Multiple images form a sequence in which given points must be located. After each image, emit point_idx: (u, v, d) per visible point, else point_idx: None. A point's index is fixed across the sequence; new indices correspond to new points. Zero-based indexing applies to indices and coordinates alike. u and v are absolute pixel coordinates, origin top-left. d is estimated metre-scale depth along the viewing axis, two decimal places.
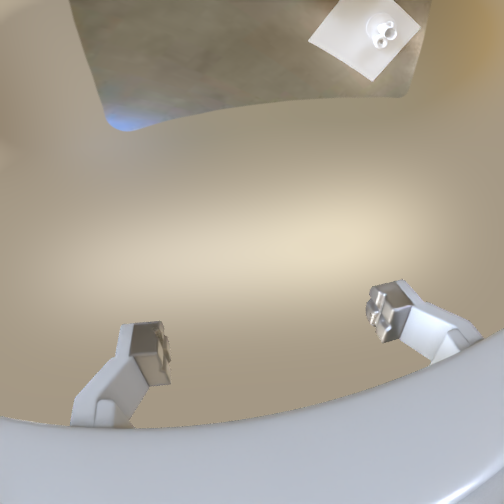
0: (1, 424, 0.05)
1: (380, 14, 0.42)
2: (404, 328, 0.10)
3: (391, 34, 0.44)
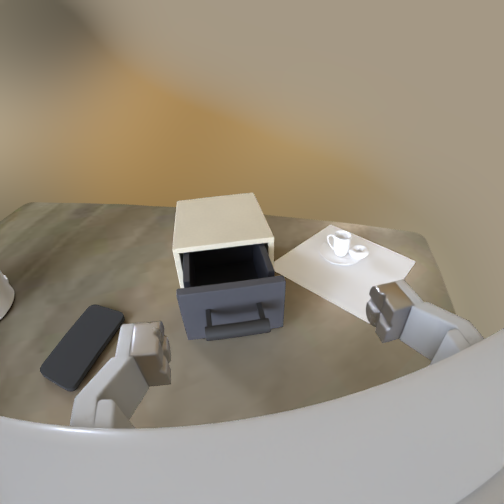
0: (1, 424, 0.05)
1: (321, 252, 0.53)
2: (404, 328, 0.10)
3: (344, 238, 0.52)
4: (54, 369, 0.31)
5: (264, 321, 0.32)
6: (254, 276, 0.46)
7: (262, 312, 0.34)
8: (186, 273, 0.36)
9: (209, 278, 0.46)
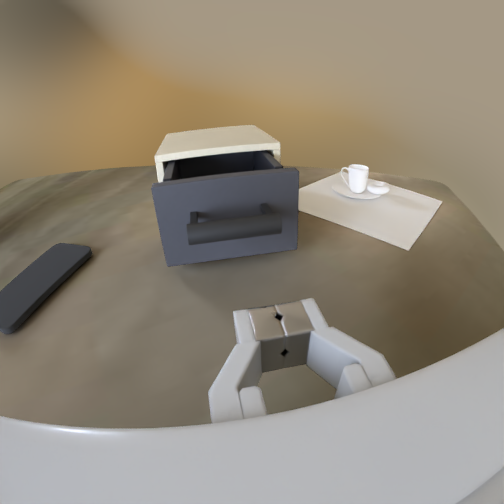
0: (1, 424, 0.05)
1: (335, 189, 0.43)
2: (307, 354, 0.10)
3: None
4: None
5: (273, 215, 0.22)
6: None
7: (269, 210, 0.24)
8: (168, 173, 0.27)
9: None
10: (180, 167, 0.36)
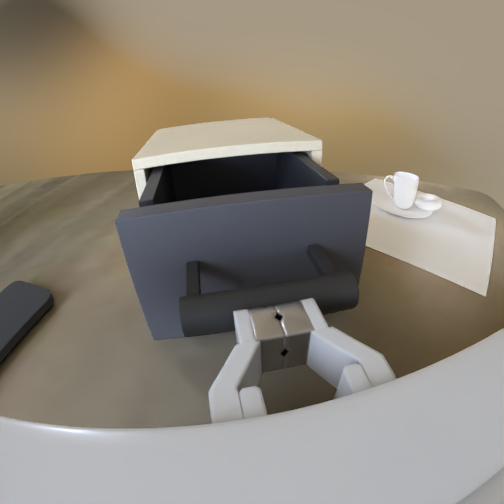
0: (1, 424, 0.05)
1: (377, 203, 0.33)
2: (307, 354, 0.10)
3: None
4: None
5: (342, 278, 0.12)
6: None
7: (328, 262, 0.13)
8: (149, 190, 0.16)
9: None
10: (173, 175, 0.25)
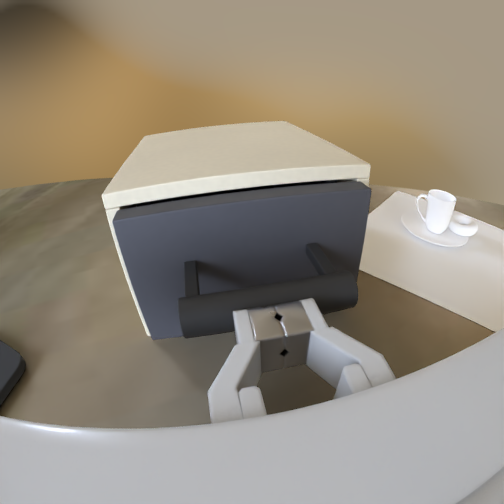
0: (1, 424, 0.05)
1: (409, 227, 0.27)
2: (307, 354, 0.10)
3: None
4: None
5: (341, 277, 0.12)
6: None
7: (326, 261, 0.13)
8: None
9: None
10: None
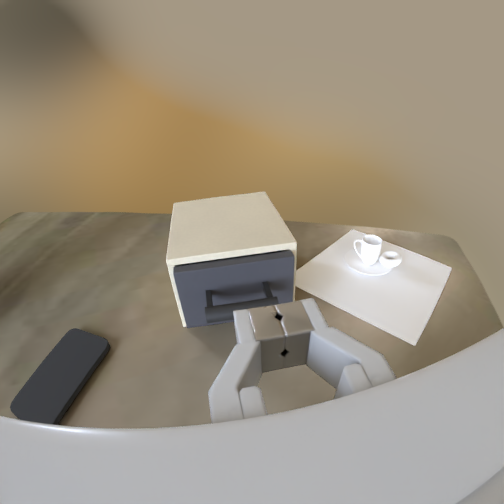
0: (1, 424, 0.05)
1: (347, 261, 0.43)
2: (307, 354, 0.10)
3: (373, 244, 0.43)
4: (25, 408, 0.22)
5: (272, 299, 0.28)
6: None
7: (269, 291, 0.30)
8: None
9: None
10: None
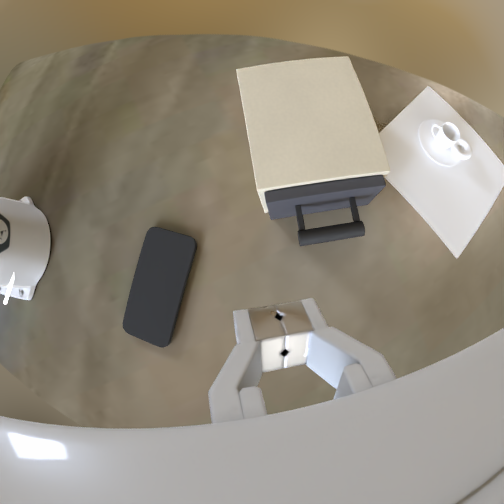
0: (1, 424, 0.05)
1: (421, 139, 0.36)
2: (307, 354, 0.10)
3: (450, 130, 0.33)
4: (139, 326, 0.37)
5: (359, 228, 0.30)
6: None
7: (356, 212, 0.30)
8: None
9: None
10: None
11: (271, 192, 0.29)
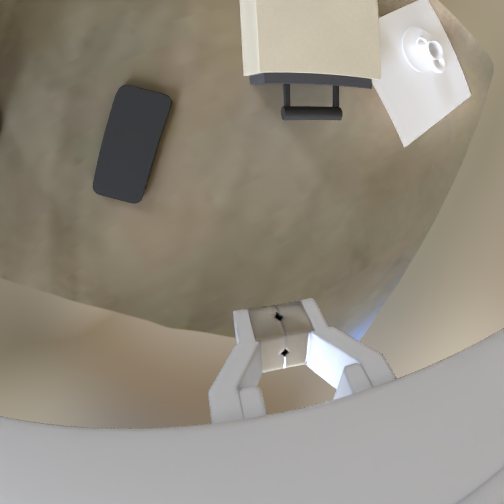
0: (1, 424, 0.05)
1: (404, 42, 0.32)
2: (307, 354, 0.10)
3: (434, 46, 0.30)
4: (111, 186, 0.36)
5: (338, 114, 0.31)
6: None
7: (337, 99, 0.31)
8: None
9: None
10: None
11: (270, 74, 0.26)
